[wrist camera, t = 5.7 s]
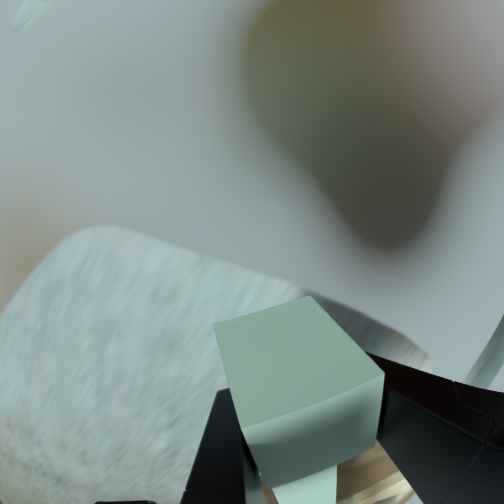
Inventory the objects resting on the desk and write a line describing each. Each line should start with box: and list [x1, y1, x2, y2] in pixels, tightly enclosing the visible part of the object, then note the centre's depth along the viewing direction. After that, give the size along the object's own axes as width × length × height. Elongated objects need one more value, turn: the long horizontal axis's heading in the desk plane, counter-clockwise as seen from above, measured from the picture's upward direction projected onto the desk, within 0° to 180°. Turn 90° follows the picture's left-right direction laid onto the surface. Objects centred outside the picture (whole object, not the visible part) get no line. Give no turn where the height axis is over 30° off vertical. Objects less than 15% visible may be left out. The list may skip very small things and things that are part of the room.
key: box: [213, 295, 385, 504], centre depth 10 cm, size 3×21×4 cm, turn 12°
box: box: [260, 439, 399, 504], centre depth 21 cm, size 16×14×8 cm
